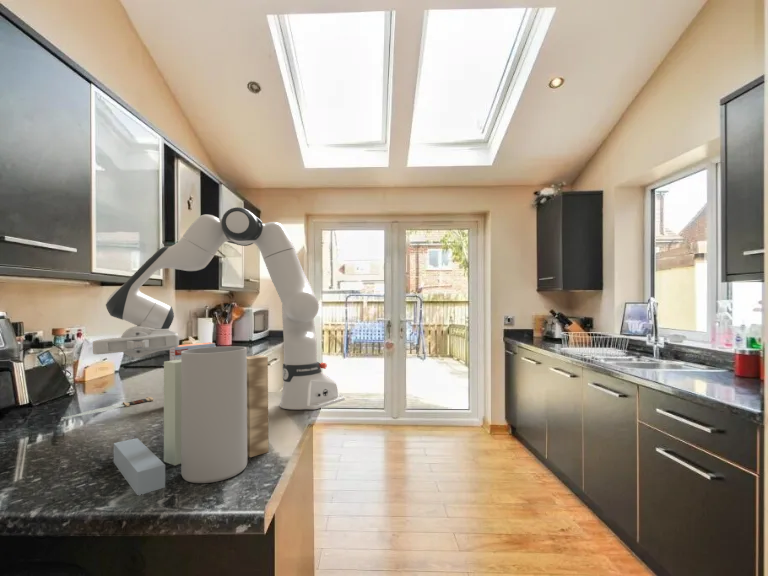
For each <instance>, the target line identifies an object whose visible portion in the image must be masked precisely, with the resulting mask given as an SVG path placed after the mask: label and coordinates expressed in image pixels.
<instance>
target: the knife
mask: <svg viewBox="0 0 768 576" xmlns="http://www.w3.org/2000/svg"><path fill="white" fill-rule="evenodd" d="M151 401H152V402H154V397H152V396H147V397H145V398H141V399H137V400H133V401H132V400H131V401H129V402H125V401H122V403H119V404H114V405H110V406H105V407H101V408H100V407H99V408H95V409H91V410H86V411H84V412H80V413H78V414H73V415H69V416H64V417H62V419H67V418H68V419H69V418H74V417H81V416H86V415H91V414H95V413H96V414H97V413H101V412H106V411H107V412H108V411H111V410H115V409H122V408H130V407H133V406H135V405H138V404H139V405H140V404H142V403H147V402H151Z"/></svg>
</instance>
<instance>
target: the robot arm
mask: <svg viewBox="0 0 768 576" xmlns="http://www.w3.org/2000/svg"><path fill="white" fill-rule="evenodd" d="M224 243H229V244H234V245H237V246H242V247H243V246H244V247H248V246H252V245H253V244H254V245H256V246H257V249H259V251H260V253H261V254H260V255H261V256H262V259H263V261H264V264H265V267H266V269H267V272H268V275H269V277H270V279H271V282H272V284H273V286H274V289H275V290H276V292H277V295H278V297H279V300H280V301H281V302H280V303H282V305H281V312H282V316H281V317H282V334H283V335H282V336H283V363H282V379H283V383H282V393H281V399H280V401H279V407H280V408H281V409H285V410H317V409H321V408H324V407H328V406H331V405H334V404H338V403H340V402H343V401H346V400H345V396H344V395H342V394H339V390H338V385H337V383H336V382H335V380H333V379H332V378H330V377H329V376H327V375H326V374H325V373H324V372H322V369H324V370H325V369H327V367H328V364H327V362H318V359H317V358H318V355H317V354H318V353H317V352H318V350H317V335H316V328H315V327H316V326H315V318H316V316H317V314H318V312H319V308H320V304H319V300H318V298H317V296H316V293H315V291H314V289H313V287H312V285H311V283H310V281H309V280H308V277H307V275H306V273H305V271H304V269H303V267H302V263H301V261H300V259H299V256H298V253H297V251H296V248H295V245H294V243H293V242H292V240H291V237H290V236H289V233H288V231H287V230H286V229H285V227H284V226H283V224H282V223H280V222H277V221H268V222H265V223H264V222H263V221H262V220H261V219H260V218H259V217H257V216H256V215H255V214H254V213H253V212H251V210H248V209H246V208H245V207H240V206H237V207H231V208H230V209H228V210H226V211H225V213H224V214H223V216H222V218H219V217H217V216H215V215H213V214H202V215H200V216H199V217H198V218H196V219H195V220H194V222H193V223H191V225H190V226H189V227H188V228H187V230H186V231H185V232H184V234H183V235H182V236H181V238H180V239H179V240H178V241H177V242H176V243H175V244H173V245H170V246H162V247H160V249H158V250H157V251H156V252H155V253H154V254H153V255H151V256H150V258H148V259H147V260H146V261H145V262H144V263H143V264H142V265H141V266H140V267H139V268H138V269H137V271H135V272H134V273H133V274H132V275H131V276H130V278H128V280H127V281H126V282H125V283H124V284H122V285H121V286H119V287H118V288H116V290H114V291H113V292H112V293H111V294H109V295H110V296H109V297H108V298H107V300H106V303H105V307H106V309H107V311H108V313H109V315H110V316H111V317H113V318H116V319H119V320H122V321H126V322H128V323H129V324H133V325H134V326H131V327H129V328H128V329H126V330H125V331H124V332H123V333H122V335H121V337H112V338H100V339H98V340H93V341H92V354H93V355H106V354H115V353H118V354H119V353H123V354H124V355H125V356H127V357H131V358H141V357H145V356H148V355H151V354H153V353H158V352H159V353H160V352H164V351H165V352H166V351H170V349H171V348H173V347H178V346H179V345H180V336H179V333H177V332H176V331H173V330H171V328H170V327H171V325H172V324H173V321H174V318H175V312H174V309H173V306H171V305H169V304H167V303H166V302H163V301H161V300H159V299H156V298H154V297H152V296H149V295H148V294H145V293H143V292H142V291H141V290H140V288H141V287H142V286H143V285H144V284H145V283H146V282H147V281H148V280H149V279H150V278H151V277H152V276H153V275H154V274H155V273H156V272H158V271H160V270H162V269H173V270H179V271H180V270H181V271H186V272H197V271H201V270H203V269H205V268H206V267H207V266H208V265H209V264H210V262H211V261H212V259H213V258H214V256H215V255H216V254H217V253H218V250H219V249H220V247H221V246H222V245H223V244H224Z"/></svg>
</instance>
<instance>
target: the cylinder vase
mask: <svg viewBox="0 0 768 576" xmlns="http://www.w3.org/2000/svg"><path fill="white" fill-rule="evenodd" d="M247 349H248V348H247V347H246V346H215V347H207V348H197V349H190V350H185V351H182V352H181V464H180V470H181V471H180V472H181V476H182V479H183V480H184V481H186V482H189V483H194V484H210V483H217V482H221V481H224V480H227V479H230V478H233V477H235V476H237V475H239V474H240V473H242V472H243V471H244V470H245V469H246V467H247V465H248V456H247V357H248V355H247V354H248V353H247Z"/></svg>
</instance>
